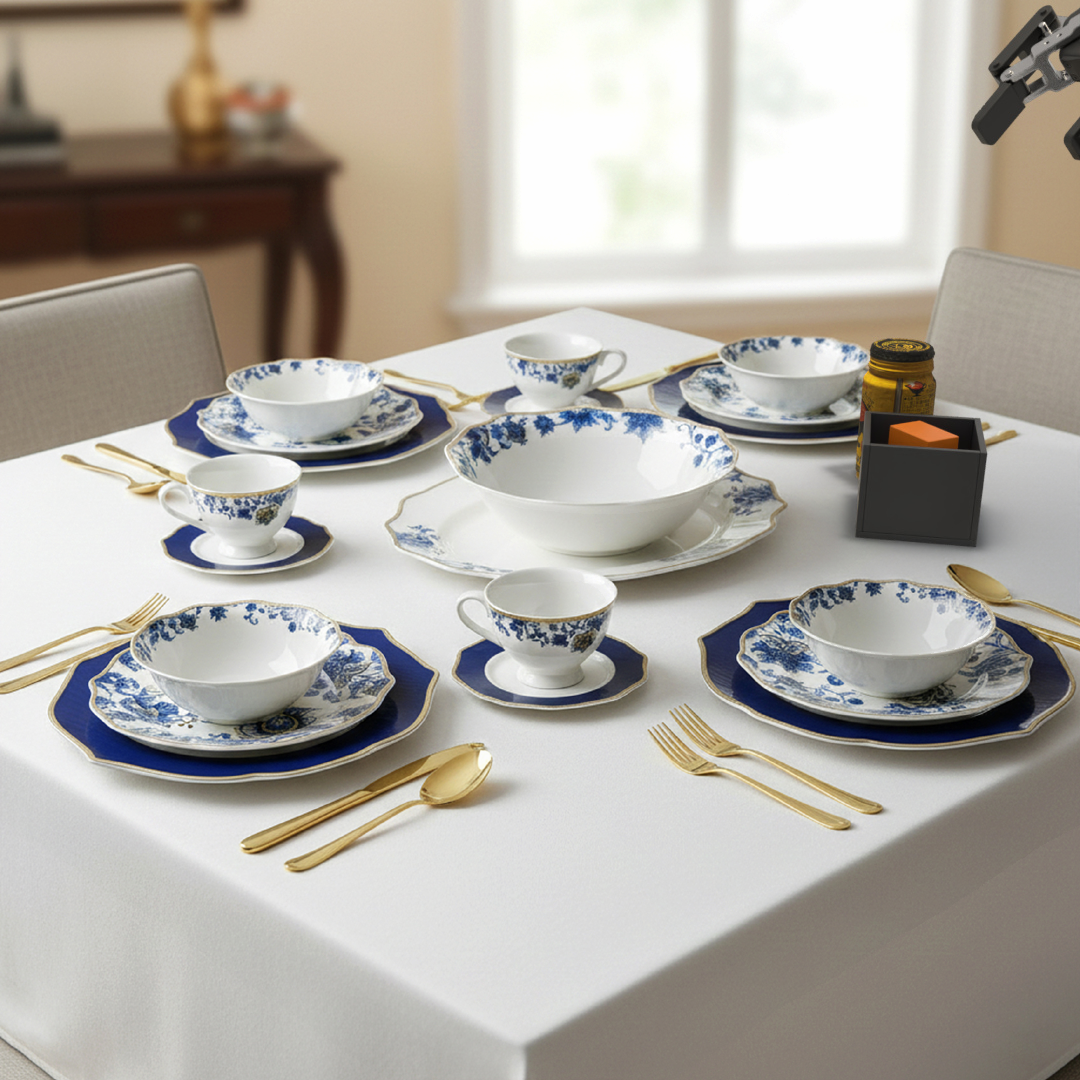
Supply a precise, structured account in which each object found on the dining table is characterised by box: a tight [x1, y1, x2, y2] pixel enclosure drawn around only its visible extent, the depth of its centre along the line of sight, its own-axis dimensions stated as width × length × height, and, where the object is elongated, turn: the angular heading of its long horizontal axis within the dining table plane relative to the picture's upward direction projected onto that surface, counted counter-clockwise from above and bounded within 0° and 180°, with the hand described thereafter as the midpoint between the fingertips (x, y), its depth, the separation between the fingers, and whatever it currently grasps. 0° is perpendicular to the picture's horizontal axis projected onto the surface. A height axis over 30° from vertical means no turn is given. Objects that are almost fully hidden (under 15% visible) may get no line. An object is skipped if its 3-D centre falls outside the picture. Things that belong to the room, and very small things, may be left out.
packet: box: [888, 421, 959, 449], centre depth 115 cm, size 3×5×7 cm, turn 26°
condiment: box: [855, 337, 937, 481], centre depth 124 cm, size 7×8×12 cm
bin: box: [854, 411, 988, 548], centre depth 115 cm, size 9×9×8 cm
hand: (1025, 144), depth 95 cm, fingers open, 8 cm apart
